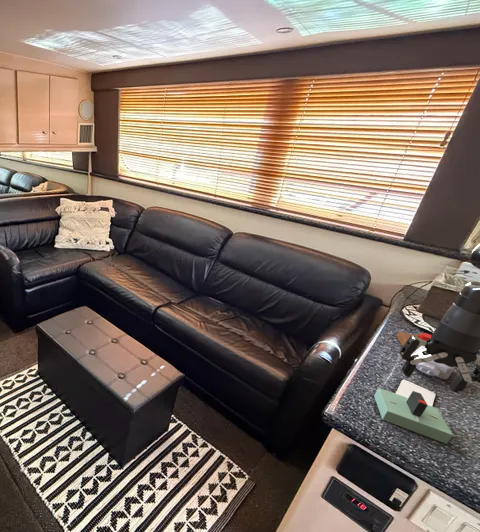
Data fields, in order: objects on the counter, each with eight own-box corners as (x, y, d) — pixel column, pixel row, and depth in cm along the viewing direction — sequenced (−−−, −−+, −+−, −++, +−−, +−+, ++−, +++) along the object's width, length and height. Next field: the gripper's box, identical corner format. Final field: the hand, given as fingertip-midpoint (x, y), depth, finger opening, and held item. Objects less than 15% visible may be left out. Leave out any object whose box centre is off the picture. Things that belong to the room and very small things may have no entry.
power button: (432, 339, 114) (434, 335, 113) (436, 344, 111) (438, 340, 110) (417, 335, 116) (419, 331, 115) (420, 340, 113) (423, 336, 112)
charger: (400, 368, 102) (414, 355, 110) (440, 387, 95) (452, 372, 103) (407, 357, 100) (421, 344, 108) (449, 375, 93) (460, 360, 101)
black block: (405, 401, 84) (413, 390, 82) (413, 404, 83) (421, 392, 82) (411, 414, 80) (419, 402, 78) (420, 417, 79) (428, 405, 78)
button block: (439, 348, 116) (444, 339, 115) (450, 362, 108) (456, 352, 107) (396, 336, 122) (401, 327, 120) (403, 348, 114) (409, 339, 112)
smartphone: (436, 393, 92) (429, 416, 83) (434, 395, 92) (428, 418, 83) (402, 378, 97) (392, 398, 88) (401, 380, 98) (391, 400, 89)
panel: (431, 416, 84) (437, 407, 83) (446, 444, 76) (453, 434, 75) (373, 395, 89) (378, 387, 88) (382, 419, 81) (387, 410, 80)
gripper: (502, 331, 72) (462, 386, 78) (418, 309, 78) (387, 362, 85) (521, 347, 66) (476, 405, 72) (428, 322, 72) (395, 378, 79)
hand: (428, 382), depth 78 cm, fingers open, 8 cm apart
